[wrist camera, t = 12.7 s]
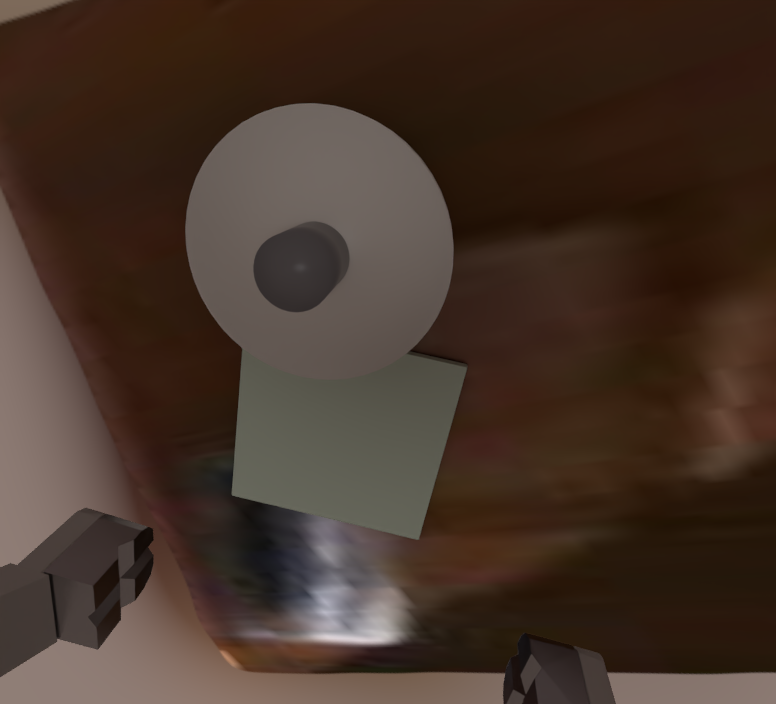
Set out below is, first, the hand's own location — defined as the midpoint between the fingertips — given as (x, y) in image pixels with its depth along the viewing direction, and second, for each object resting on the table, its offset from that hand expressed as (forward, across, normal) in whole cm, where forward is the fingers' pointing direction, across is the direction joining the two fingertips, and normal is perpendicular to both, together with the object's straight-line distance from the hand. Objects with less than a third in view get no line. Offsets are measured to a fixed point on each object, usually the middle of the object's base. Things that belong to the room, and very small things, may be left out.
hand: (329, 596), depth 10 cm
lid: (+18, +6, -3) cm, 19 cm away
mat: (+24, +4, +12) cm, 27 cm away
